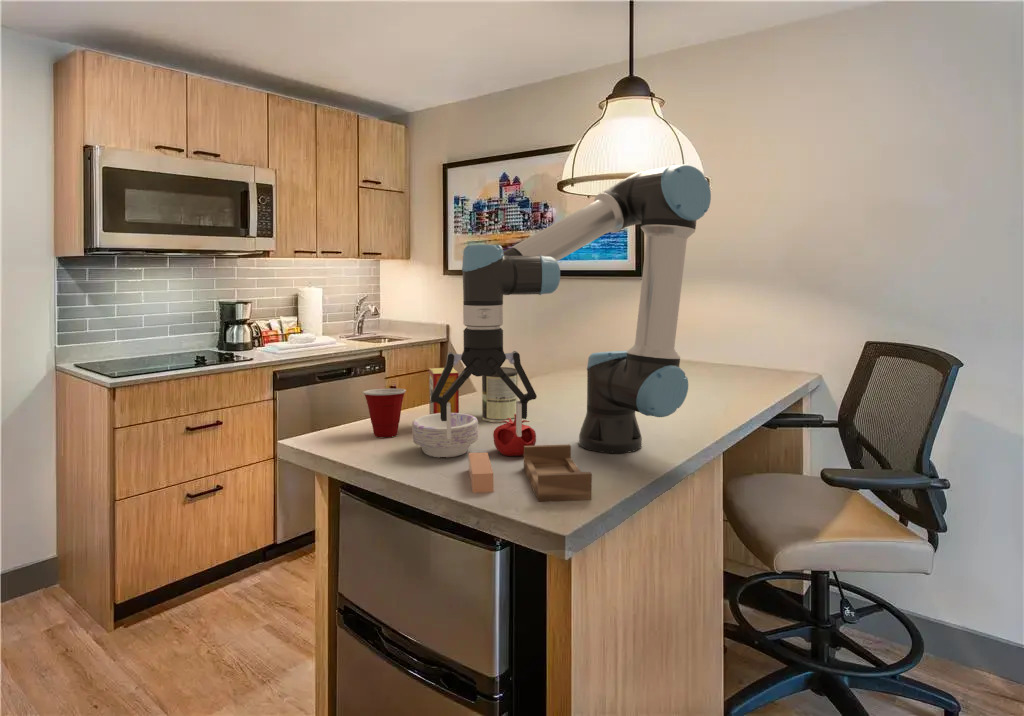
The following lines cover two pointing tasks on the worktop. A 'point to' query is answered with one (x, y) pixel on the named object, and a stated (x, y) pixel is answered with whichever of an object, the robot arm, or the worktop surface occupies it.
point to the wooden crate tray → (555, 474)
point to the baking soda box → (433, 379)
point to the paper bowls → (445, 434)
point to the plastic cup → (385, 410)
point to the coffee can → (499, 397)
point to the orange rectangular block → (480, 472)
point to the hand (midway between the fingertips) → (484, 436)
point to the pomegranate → (513, 438)
